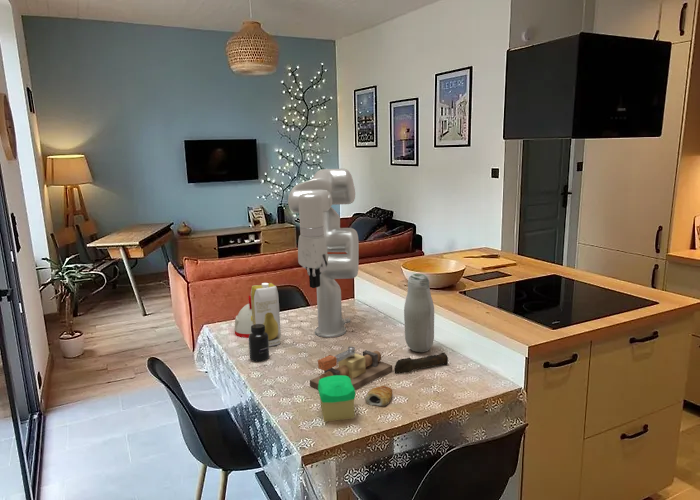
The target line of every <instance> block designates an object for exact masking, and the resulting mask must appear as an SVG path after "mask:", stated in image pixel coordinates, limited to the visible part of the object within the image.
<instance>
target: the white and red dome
mask: <svg viewBox="0 0 700 500" xmlns="http://www.w3.org/2000/svg"><path fill="white" fill-rule="evenodd" d="M252 325H253V320H252V306H251V295H248V303H247V304H245V305H244V306H243V307H242V308H241V309H240V310H239V312H238V314H237V315H235V319H234V335H235V336H236V337H238V338H242V337H243V338H242V339H244V338H245V339H249V335H250V334H251V333H252V332H251V326H252Z"/></svg>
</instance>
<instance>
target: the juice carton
mask: <svg viewBox="0 0 700 500" xmlns="http://www.w3.org/2000/svg"><path fill="white" fill-rule="evenodd" d="M250 296H251V306H252V320H253V325H255V324H263V325H265V332H266V333H267V334H268V340H269V347H274V346H278V345H280V344H281V318H280V317H281V316H280V303H279V292H278V288H277V286H276V285H275V284H274V283H272V282H269V283H268V282H262V283H261V284H259V285H257V284H256V285H251V290H250Z"/></svg>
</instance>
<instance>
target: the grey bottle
mask: <svg viewBox="0 0 700 500" xmlns="http://www.w3.org/2000/svg"><path fill="white" fill-rule="evenodd" d="M432 297H433V296H432V294H431V289H430V280H429V278H428V276H426V275H425V274H422V273H413V274H411V275H410V276H409V278H408V281H407V292H406V297H405V300H404V307H403V308H404V309H403V315H404V316H403V318H404V340H405V343H406V345H407V346H408V348H409V349H410V350H412V351H413V352H416V353H425V352H427V351H429V350H430V349H431V348H432V347H433V344H434V340H435V304H434V302H433V298H432Z"/></svg>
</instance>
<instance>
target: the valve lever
mask: <svg viewBox="0 0 700 500" xmlns="http://www.w3.org/2000/svg"><path fill="white" fill-rule="evenodd" d="M355 353H356V347H355V346H348V347H347V350H344V351H343V352H341V353H340V352H339V353H338V354H336V355H331V354H330V355H326V356H324V357H322V358H319V359H318V360H317V366H318V367H317V368H318V369H319V370H322V371H326V370H328V369H330V368H334V367H337V366H338V364H337V363H338V362H339V361H341V360H343V359H346V358H348V357H354V354H355Z"/></svg>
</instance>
